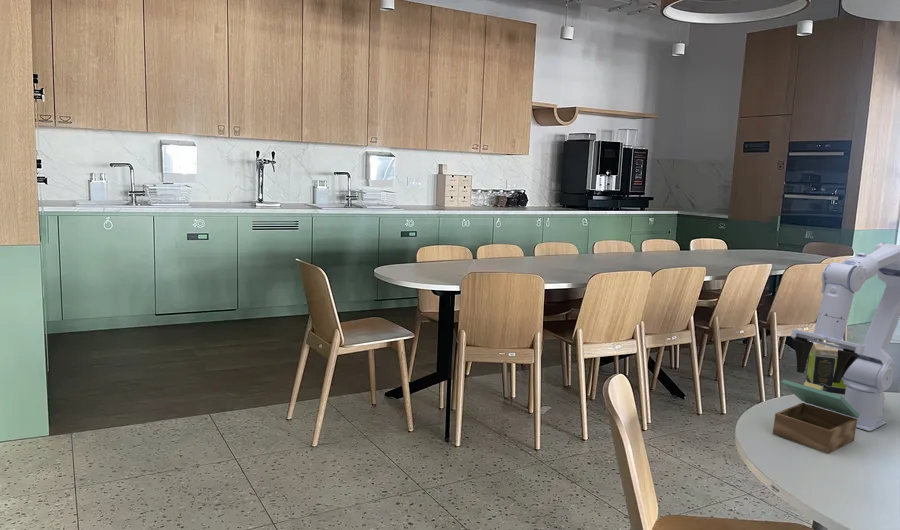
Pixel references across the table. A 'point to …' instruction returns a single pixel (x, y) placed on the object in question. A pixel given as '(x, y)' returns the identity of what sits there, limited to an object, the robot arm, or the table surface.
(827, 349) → the tea box
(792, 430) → the walnut box
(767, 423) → the table surface
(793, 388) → the lid
